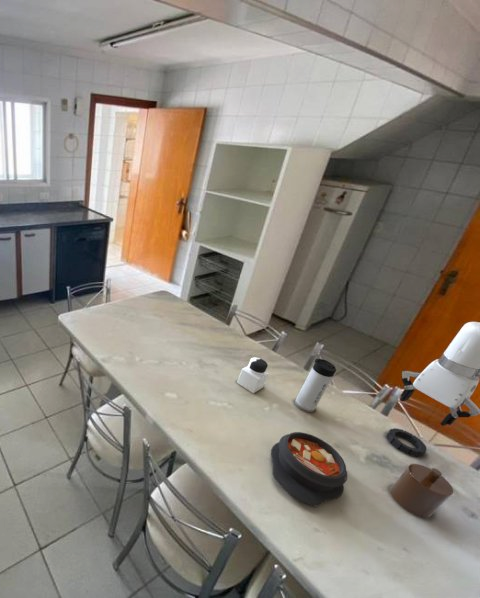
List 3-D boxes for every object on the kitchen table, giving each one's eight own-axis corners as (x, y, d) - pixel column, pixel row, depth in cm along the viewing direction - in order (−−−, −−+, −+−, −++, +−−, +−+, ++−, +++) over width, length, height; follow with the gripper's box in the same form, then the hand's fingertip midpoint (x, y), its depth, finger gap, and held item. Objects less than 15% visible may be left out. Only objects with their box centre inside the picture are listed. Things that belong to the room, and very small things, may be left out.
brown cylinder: (418, 491, 94) (445, 462, 88) (439, 522, 86) (469, 492, 80) (383, 482, 96) (407, 452, 90) (400, 511, 88) (427, 481, 82)
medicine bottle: (263, 387, 129) (273, 363, 124) (253, 394, 125) (263, 369, 120) (246, 376, 134) (255, 353, 129) (236, 382, 130) (245, 358, 125)
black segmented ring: (411, 437, 112) (415, 432, 111) (429, 460, 104) (433, 455, 103) (380, 430, 114) (384, 425, 113) (395, 452, 106) (399, 447, 105)
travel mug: (294, 397, 126) (315, 355, 116) (314, 405, 122) (337, 362, 113) (292, 406, 121) (314, 363, 112) (313, 415, 118) (337, 372, 109)
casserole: (328, 527, 83) (343, 508, 79) (254, 474, 95) (264, 455, 91) (350, 469, 99) (363, 451, 95) (284, 430, 111) (293, 412, 107)
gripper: (510, 384, 83) (468, 431, 90) (426, 345, 97) (396, 389, 105) (496, 390, 80) (454, 438, 88) (412, 349, 94) (382, 393, 102)
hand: (423, 411), depth 96 cm, fingers open, 9 cm apart
